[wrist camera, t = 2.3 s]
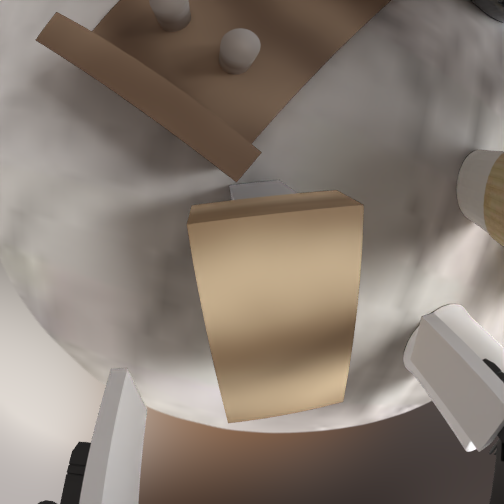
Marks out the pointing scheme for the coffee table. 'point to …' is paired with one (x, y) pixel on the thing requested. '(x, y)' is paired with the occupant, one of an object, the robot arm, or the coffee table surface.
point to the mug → (475, 339)
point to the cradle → (211, 62)
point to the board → (279, 298)
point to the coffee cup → (483, 191)
